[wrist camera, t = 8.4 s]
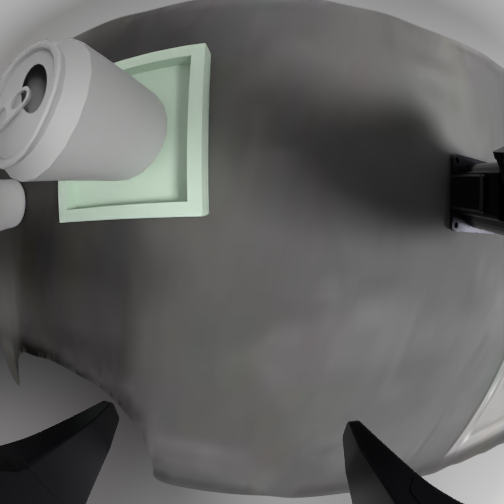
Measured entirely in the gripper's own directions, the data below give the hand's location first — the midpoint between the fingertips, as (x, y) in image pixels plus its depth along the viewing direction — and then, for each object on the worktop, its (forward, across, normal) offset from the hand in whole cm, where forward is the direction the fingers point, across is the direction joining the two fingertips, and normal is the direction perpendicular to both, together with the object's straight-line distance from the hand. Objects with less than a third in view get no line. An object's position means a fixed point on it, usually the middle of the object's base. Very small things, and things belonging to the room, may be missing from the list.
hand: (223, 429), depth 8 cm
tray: (+13, +10, -13) cm, 21 cm away
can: (+13, +9, -13) cm, 20 cm away
